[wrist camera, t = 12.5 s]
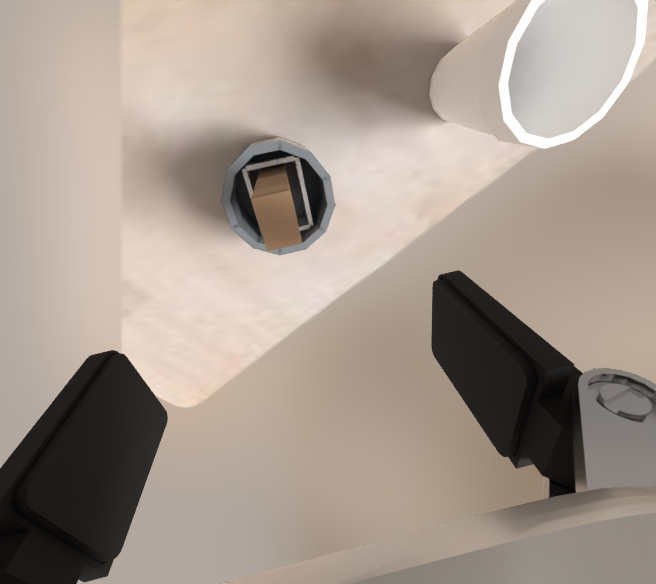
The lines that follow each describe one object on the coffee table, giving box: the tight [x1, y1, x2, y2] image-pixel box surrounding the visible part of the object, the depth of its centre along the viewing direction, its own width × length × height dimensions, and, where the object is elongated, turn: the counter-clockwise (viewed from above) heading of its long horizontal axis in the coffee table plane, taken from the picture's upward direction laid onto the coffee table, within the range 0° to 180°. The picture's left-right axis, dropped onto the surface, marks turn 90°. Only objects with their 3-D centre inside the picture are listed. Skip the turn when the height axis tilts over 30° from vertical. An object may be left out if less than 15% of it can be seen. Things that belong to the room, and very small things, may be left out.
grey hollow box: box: [242, 153, 313, 237], centre depth 29 cm, size 7×5×4 cm
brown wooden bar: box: [251, 163, 302, 251], centre depth 25 cm, size 4×2×14 cm
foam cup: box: [429, 0, 648, 148], centre depth 24 cm, size 10×9×13 cm
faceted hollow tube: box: [221, 137, 335, 255], centre depth 29 cm, size 10×10×6 cm
